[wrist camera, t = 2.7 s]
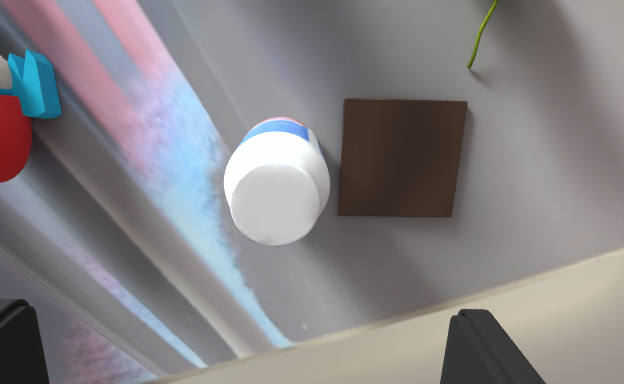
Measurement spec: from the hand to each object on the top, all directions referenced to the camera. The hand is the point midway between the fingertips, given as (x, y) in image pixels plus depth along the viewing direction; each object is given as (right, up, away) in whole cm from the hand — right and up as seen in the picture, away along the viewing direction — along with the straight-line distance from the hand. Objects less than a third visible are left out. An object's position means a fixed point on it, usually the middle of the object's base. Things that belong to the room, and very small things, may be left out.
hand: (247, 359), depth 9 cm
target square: (+7, +6, +18) cm, 20 cm away
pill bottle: (-1, +6, +18) cm, 19 cm away
